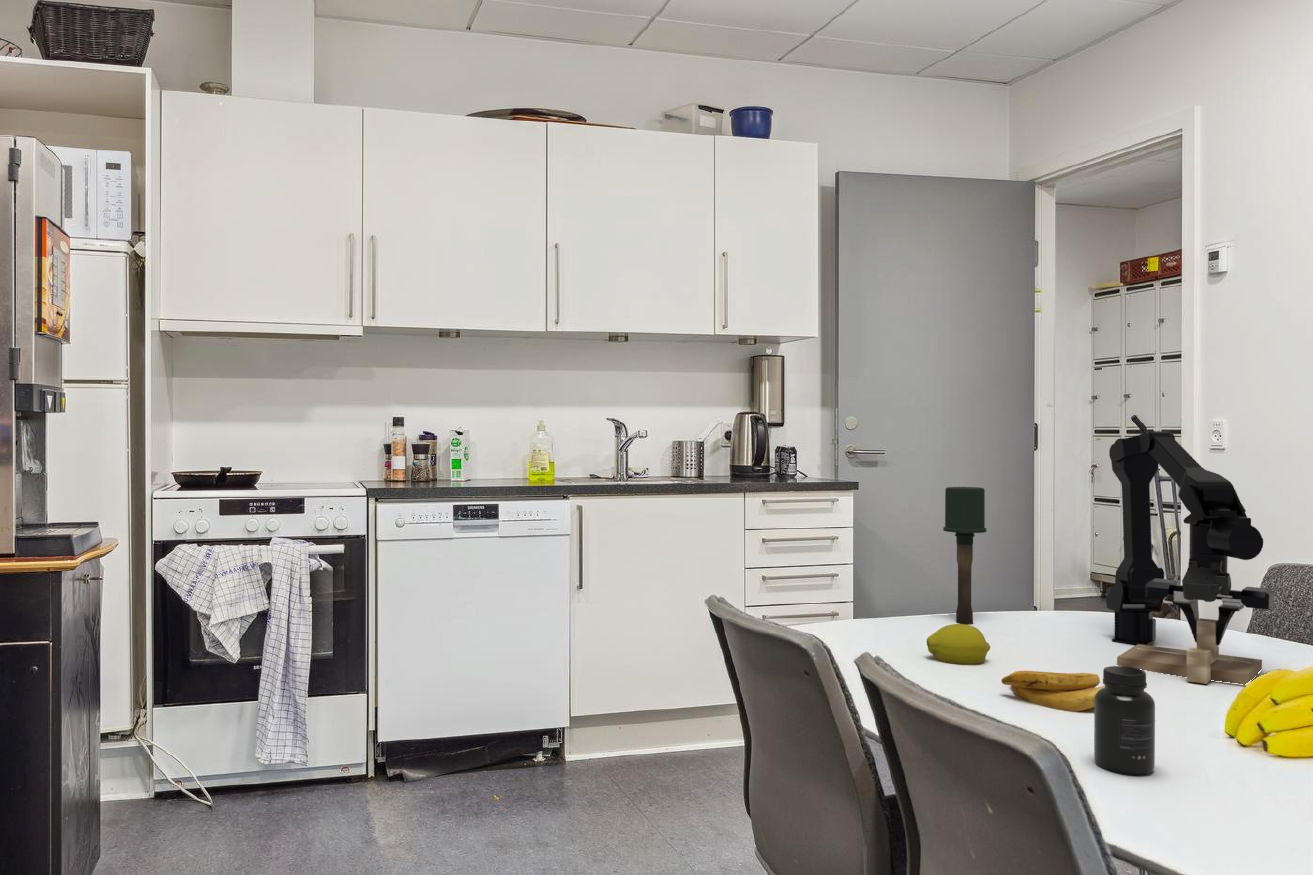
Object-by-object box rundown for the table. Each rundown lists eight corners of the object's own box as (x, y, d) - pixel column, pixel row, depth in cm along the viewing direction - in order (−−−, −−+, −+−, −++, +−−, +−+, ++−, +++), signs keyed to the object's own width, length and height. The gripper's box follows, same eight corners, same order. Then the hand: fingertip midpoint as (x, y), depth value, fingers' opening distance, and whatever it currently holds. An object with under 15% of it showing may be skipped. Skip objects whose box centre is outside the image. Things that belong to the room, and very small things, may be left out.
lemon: (987, 666, 178) (987, 621, 178) (994, 676, 170) (994, 629, 170) (924, 663, 179) (924, 619, 179) (928, 674, 172) (928, 627, 172)
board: (1117, 668, 176) (1117, 656, 176) (1137, 654, 187) (1138, 643, 187) (1247, 686, 163) (1247, 673, 163) (1262, 671, 174) (1262, 659, 174)
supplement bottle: (1083, 758, 127) (1083, 664, 127) (1135, 757, 128) (1135, 663, 128) (1112, 777, 120) (1113, 677, 120) (1166, 775, 121) (1167, 676, 121)
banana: (1149, 718, 146) (1149, 679, 146) (1016, 717, 147) (1016, 678, 147) (1106, 692, 161) (1106, 656, 161) (986, 690, 162) (986, 655, 162)
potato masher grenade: (986, 630, 210) (986, 487, 210) (985, 638, 202) (986, 489, 201) (944, 627, 212) (944, 486, 212) (941, 635, 204) (942, 488, 204)
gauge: (1186, 680, 166) (1186, 626, 166) (1203, 666, 176) (1203, 615, 176) (1206, 683, 164) (1207, 628, 164) (1222, 669, 174) (1223, 617, 174)
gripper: (1136, 552, 171) (1136, 643, 171) (1263, 561, 159) (1262, 660, 159) (1153, 546, 180) (1153, 633, 180) (1274, 555, 168) (1274, 648, 168)
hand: (1207, 643), depth 172 cm, fingers closed on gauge, 3 cm apart
